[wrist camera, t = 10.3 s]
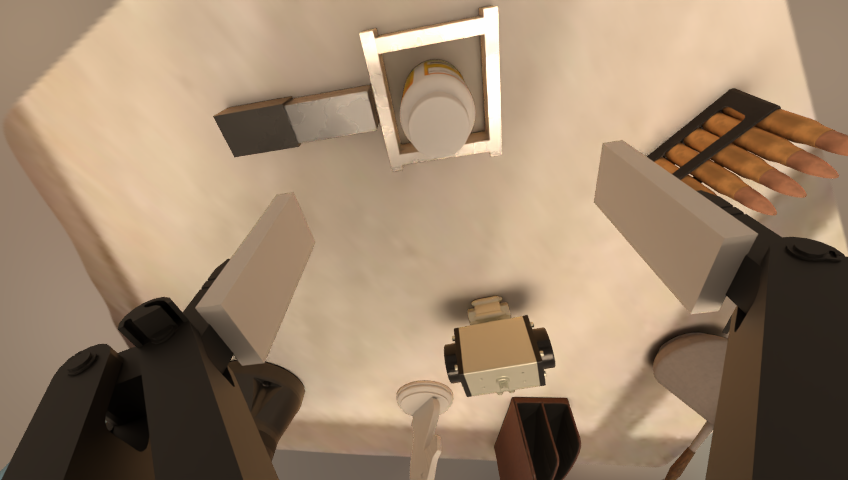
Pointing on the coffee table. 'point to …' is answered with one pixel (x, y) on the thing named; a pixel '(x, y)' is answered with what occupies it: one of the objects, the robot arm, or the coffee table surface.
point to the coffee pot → (692, 381)
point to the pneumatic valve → (497, 351)
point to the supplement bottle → (437, 109)
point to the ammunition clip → (748, 149)
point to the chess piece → (424, 423)
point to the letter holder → (537, 440)
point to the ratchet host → (369, 100)
